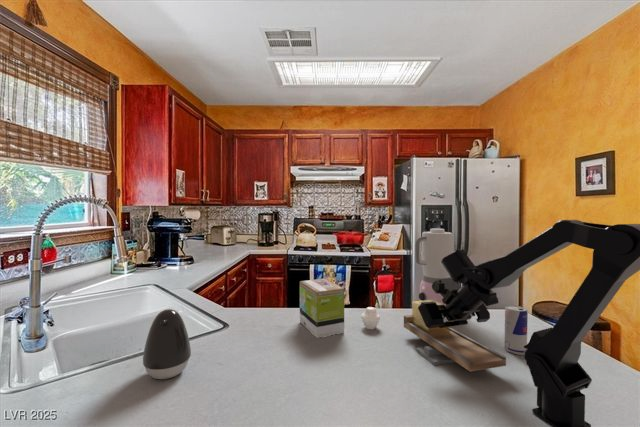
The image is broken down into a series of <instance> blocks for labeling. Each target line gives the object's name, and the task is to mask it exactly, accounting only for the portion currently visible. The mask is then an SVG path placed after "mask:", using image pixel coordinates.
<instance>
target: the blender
mask: <svg viewBox="0 0 640 427" xmlns="http://www.w3.org/2000/svg"><path fill="white" fill-rule="evenodd" d="M414 246H415V248H414V249H415V250H414V251H415V252H414V253H415V256H414V257H415V263H416V264H418V265H421V266H422V271H423V273H422V274H423V277H422V280H421V282H420V285H419V293H418V298H419V301H424V300H434V301H436V302H438V303H441V304H443V305H445V306H446V304H444V303H443V301H442V299H443V298H444V297H443V296H442V295H441V294H440V293H439V294H436V293H435V291H434V290H433V289H432V284H433V282H435V281H436V280H439V279H442V278H451V277H450V275H449V274H448V272H447V271H446V269H445V268H444V266H443V265H442V263H441V261H442V259H443V258H444V257H447V256H448V255H450V254H452V253H454V234H453V233H452V232H449V231H448V232H447V231H445V228H430V229H429V231H422V233H421V236H420V237H418V238H417V239H416V241H415V245H414Z"/></svg>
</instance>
